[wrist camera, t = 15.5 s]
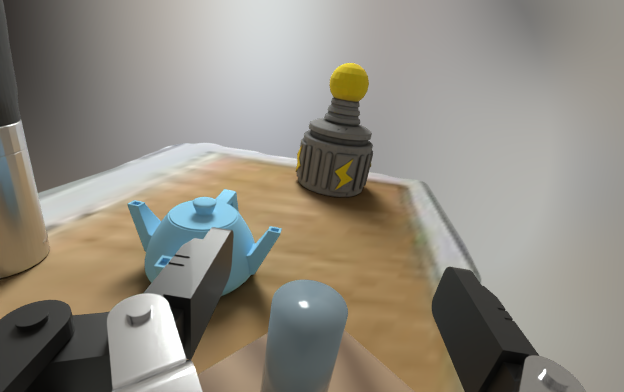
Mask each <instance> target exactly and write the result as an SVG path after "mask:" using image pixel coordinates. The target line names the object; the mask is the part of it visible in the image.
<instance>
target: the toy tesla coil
mask: <svg viewBox="0 0 624 392" xmlns="http://www.w3.org/2000/svg"><path fill="white" fill-rule="evenodd" d="M368 85H369V82H368V76H367V74H366V72H365V70H364V69H363V68H362V67H361V66H359V65H357V64H354V63H346V64H343V65H341V66H339V67H338V68H337V69H336V70H335V71H334V72H333V74H332V76H331V79H330V90H331V93H332V95H333V97H334V98H332V101H331V103H332V104H331V105H330V106H329V107H328V113H326V114H325V117H324V118H321V119H316V120H313V121H311V122H310V125H309V129H311V130H309V131H307V132H305V133H304V138H303V139H302V140H301V145H300V150H299V152H298V154H297V162H298V163H297V168H296V172H297V177H298V181H299V182H300V183H301V185H302V186H304V187H305V188H307V189H308V190H311V191H313V192H316V193H318V194H322V195H326V196H333V197H351V196H355V195H357V194H359V193H361V191H362V188H363V186H365V185H366V181H367V177H368V173H369V169H370V167H371V160H372V156H373V151H372V146H373V145H372V143H371V142H370V141H368V140H370V138H371V134H372V133H371V132H370V131H369V130H368V129H367V128H366V127H364V126H362V125H359V124H360V120H359V119H358V116H359V115H360V112H359V111H358V107H359V101H360V100H361V99H362V98H363V97H364V96H365V94H366V92H367V90H368Z"/></svg>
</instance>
